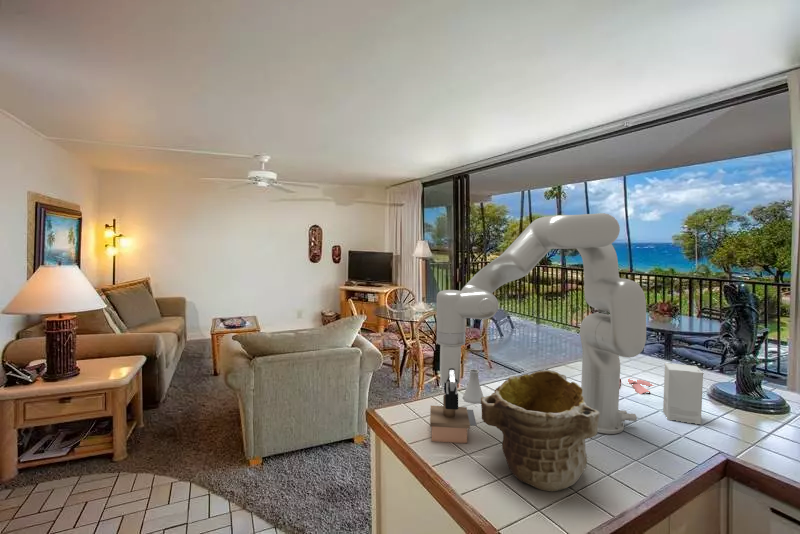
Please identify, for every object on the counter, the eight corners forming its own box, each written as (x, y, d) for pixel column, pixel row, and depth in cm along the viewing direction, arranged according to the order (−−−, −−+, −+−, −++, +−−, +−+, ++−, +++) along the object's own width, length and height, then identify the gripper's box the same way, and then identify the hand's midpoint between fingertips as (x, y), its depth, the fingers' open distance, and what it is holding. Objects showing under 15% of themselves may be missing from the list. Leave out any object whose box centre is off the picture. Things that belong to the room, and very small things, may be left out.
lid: (430, 409, 104) (430, 388, 104) (466, 410, 103) (466, 389, 103) (430, 426, 94) (430, 403, 94) (469, 428, 93) (470, 405, 93)
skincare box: (695, 416, 111) (698, 365, 110) (702, 426, 105) (705, 372, 104) (661, 411, 115) (664, 361, 114) (666, 420, 109) (669, 368, 108)
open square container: (464, 427, 103) (464, 411, 103) (467, 444, 94) (467, 427, 94) (431, 425, 104) (432, 409, 104) (431, 442, 95) (431, 425, 95)
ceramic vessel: (518, 490, 64) (488, 353, 79) (482, 499, 84) (464, 388, 98) (639, 481, 67) (589, 349, 81) (577, 492, 86) (545, 384, 101)
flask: (485, 406, 117) (485, 375, 116) (461, 404, 118) (462, 373, 118) (484, 396, 124) (485, 367, 123) (462, 395, 125) (463, 366, 125)
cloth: (658, 384, 138) (659, 378, 138) (661, 406, 120) (661, 398, 120) (597, 373, 149) (597, 368, 149) (591, 391, 131) (591, 385, 131)
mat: (473, 410, 113) (473, 409, 113) (476, 427, 103) (476, 425, 103) (440, 409, 114) (440, 408, 114) (440, 425, 104) (440, 423, 104)
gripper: (436, 329, 106) (436, 387, 108) (436, 346, 89) (436, 415, 90) (462, 329, 106) (462, 388, 107) (468, 346, 89) (468, 416, 90)
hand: (450, 400), depth 99 cm, fingers open, 9 cm apart
